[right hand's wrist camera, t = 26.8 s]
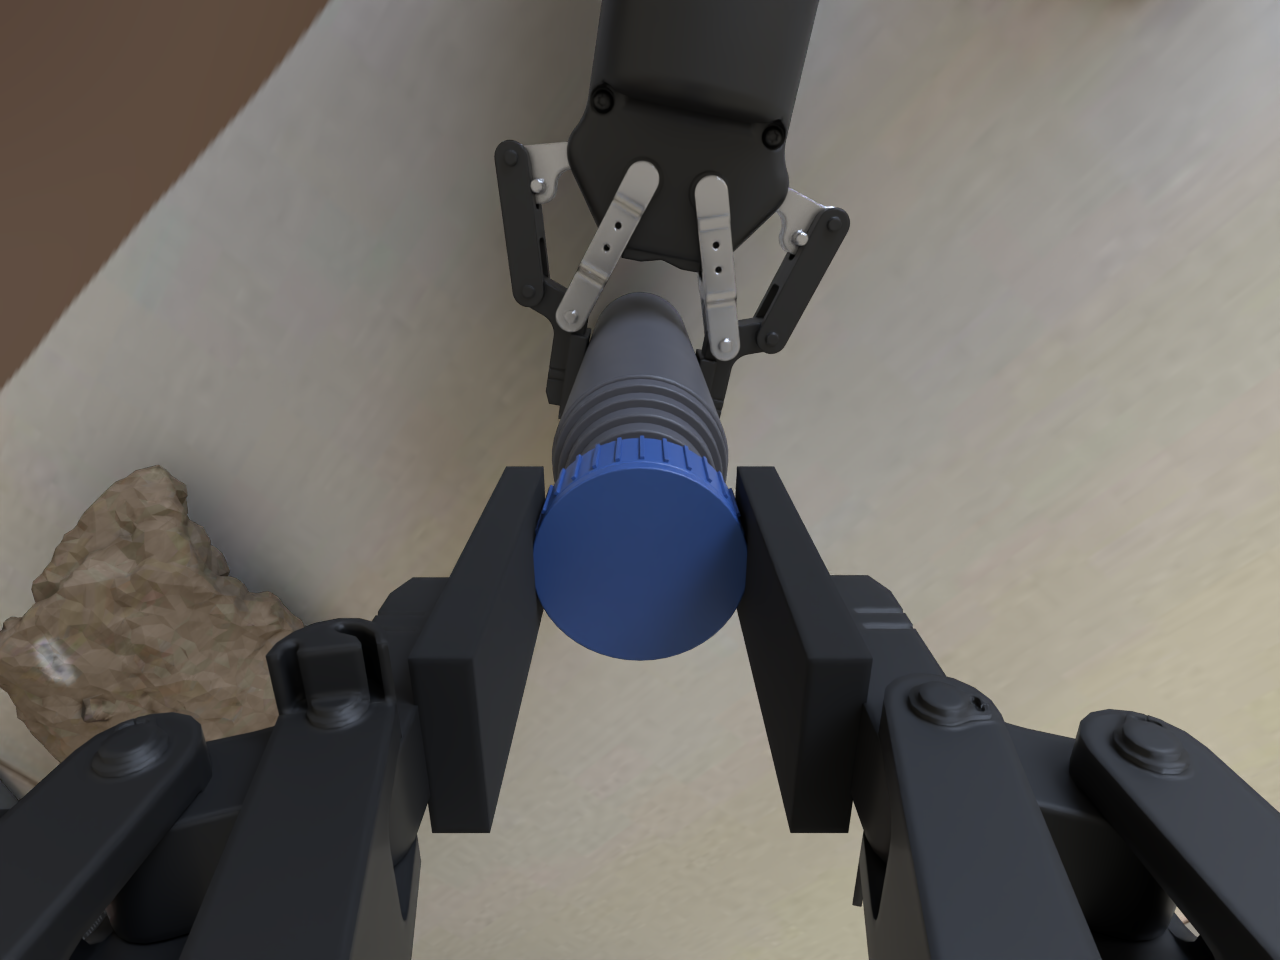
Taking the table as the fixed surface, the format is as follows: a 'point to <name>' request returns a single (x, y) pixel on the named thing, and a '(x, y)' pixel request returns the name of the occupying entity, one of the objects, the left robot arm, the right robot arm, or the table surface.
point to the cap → (640, 550)
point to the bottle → (640, 386)
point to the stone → (141, 626)
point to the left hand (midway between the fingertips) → (629, 425)
